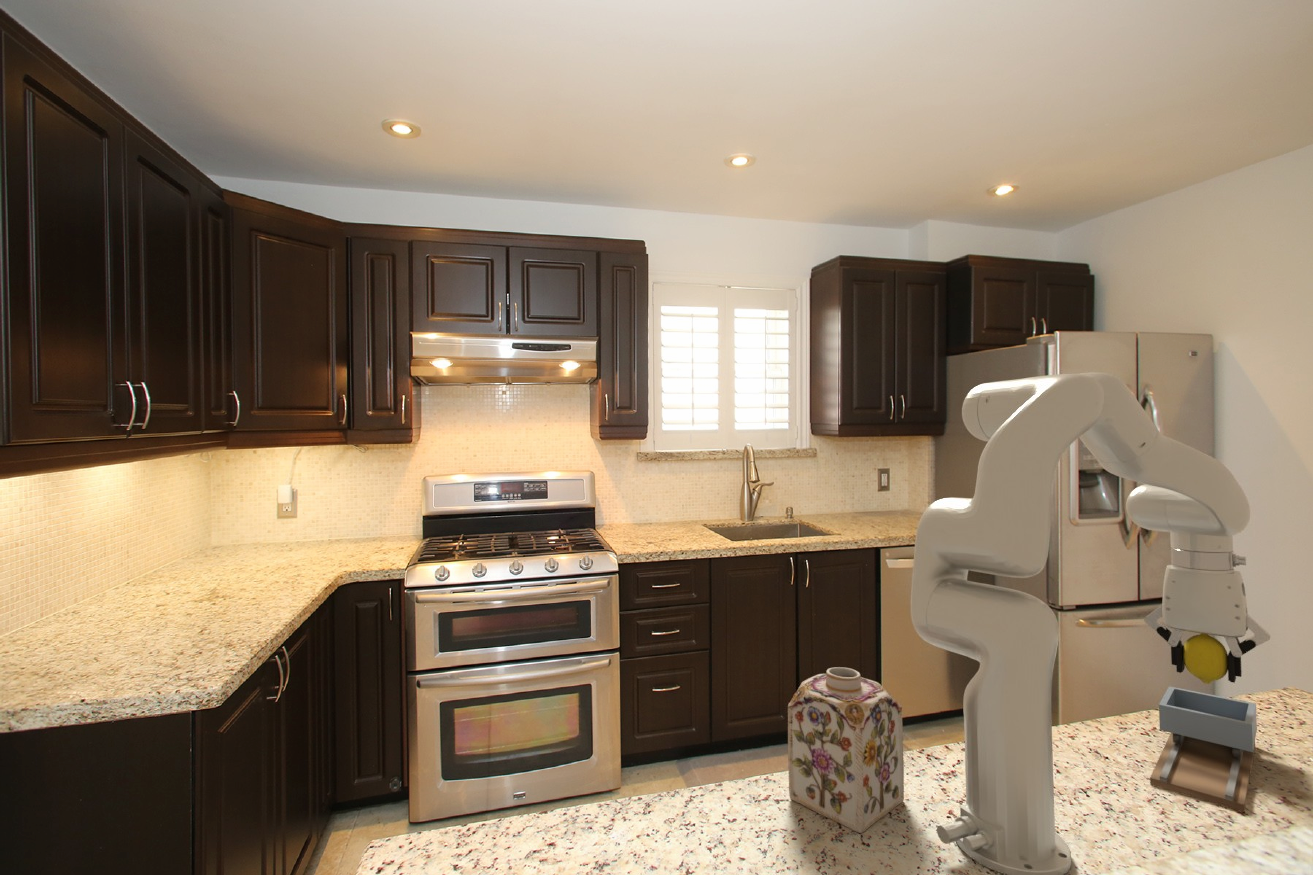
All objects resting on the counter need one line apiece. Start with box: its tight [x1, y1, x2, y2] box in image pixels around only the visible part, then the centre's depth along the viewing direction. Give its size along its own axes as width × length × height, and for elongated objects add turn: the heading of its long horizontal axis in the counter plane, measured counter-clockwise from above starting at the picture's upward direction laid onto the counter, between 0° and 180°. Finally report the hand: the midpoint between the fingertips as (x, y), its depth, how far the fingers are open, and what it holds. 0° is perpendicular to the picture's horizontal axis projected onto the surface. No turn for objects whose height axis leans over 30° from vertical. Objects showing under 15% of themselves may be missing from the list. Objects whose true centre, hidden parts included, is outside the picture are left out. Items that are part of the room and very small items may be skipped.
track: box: [1149, 732, 1256, 813], centre depth 97 cm, size 26×10×4 cm, turn 134°
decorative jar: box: [787, 666, 905, 834], centre depth 89 cm, size 12×12×18 cm
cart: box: [1158, 685, 1258, 759], centre depth 100 cm, size 11×11×6 cm
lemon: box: [1183, 633, 1229, 685], centre depth 100 cm, size 6×6×8 cm
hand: (1205, 673), depth 100 cm, fingers closed on lemon, 5 cm apart
